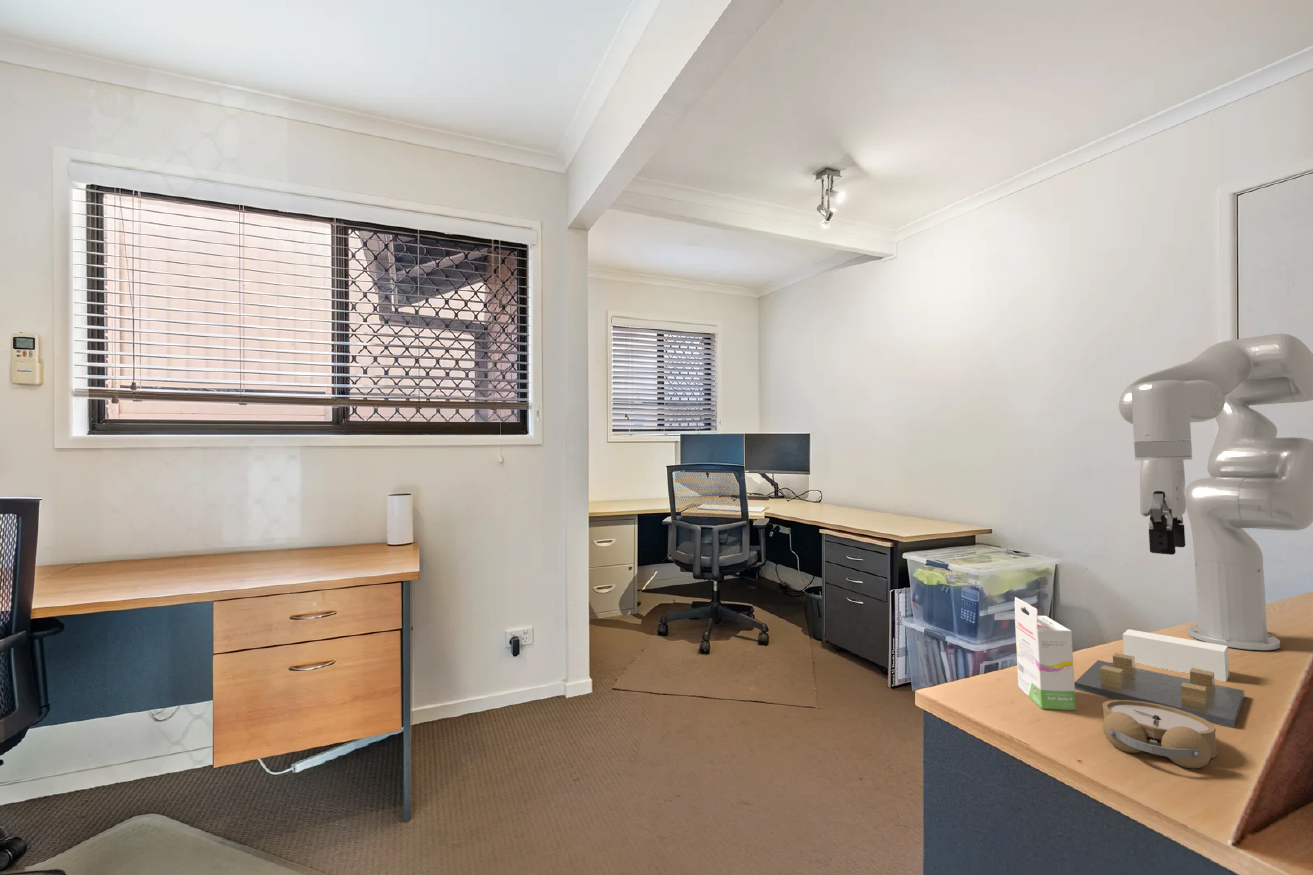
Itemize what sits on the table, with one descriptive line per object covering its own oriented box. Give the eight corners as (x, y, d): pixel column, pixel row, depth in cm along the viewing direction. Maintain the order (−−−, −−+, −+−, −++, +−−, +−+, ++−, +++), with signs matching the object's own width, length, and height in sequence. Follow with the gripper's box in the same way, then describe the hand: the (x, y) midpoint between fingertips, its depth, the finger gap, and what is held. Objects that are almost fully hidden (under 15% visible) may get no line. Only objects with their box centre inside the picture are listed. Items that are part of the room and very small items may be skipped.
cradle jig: (1098, 665, 100) (1097, 645, 100) (1244, 697, 86) (1243, 673, 86) (1074, 688, 91) (1073, 666, 91) (1234, 727, 77) (1232, 701, 78)
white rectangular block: (1129, 656, 105) (1128, 629, 105) (1229, 676, 95) (1227, 645, 95) (1124, 662, 102) (1122, 634, 102) (1226, 682, 92) (1224, 651, 92)
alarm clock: (1215, 715, 75) (1215, 737, 65) (1217, 755, 75) (1218, 784, 64) (1107, 693, 83) (1092, 709, 73) (1109, 729, 82) (1093, 750, 72)
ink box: (1078, 711, 84) (1073, 610, 84) (1041, 709, 84) (1035, 609, 85) (1050, 687, 92) (1045, 595, 92) (1016, 686, 93) (1011, 595, 93)
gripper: (1145, 451, 108) (1150, 541, 107) (1123, 453, 97) (1129, 554, 96) (1199, 450, 102) (1205, 546, 102) (1183, 452, 91) (1189, 559, 90)
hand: (1168, 549), depth 99 cm, fingers open, 9 cm apart
